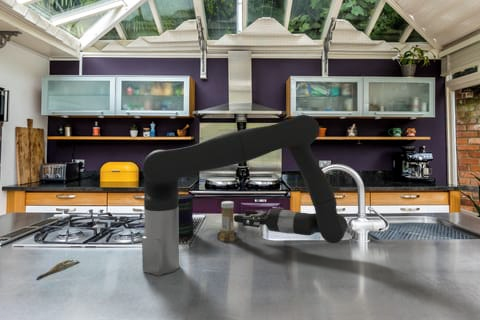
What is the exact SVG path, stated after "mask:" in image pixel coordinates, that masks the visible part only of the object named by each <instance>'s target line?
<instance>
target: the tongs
mask: <svg viewBox="0 0 480 320" xmlns="http://www.w3.org/2000/svg"><path fill="white" fill-rule="evenodd" d="M78 263H80V260H76V261H74V260H73V259H72V260H70V259H67V260H65V261H62V262H59V263H57V264H56V265H55V266H53V267H52V268H51V269H49V270H48V271H47V272H45V273H44V274H40V275H39V276H37V277H36V278H35V279H36V281H38V280H41V279H42V278H45V277H46V276H49V275H52V274H54V273H56V272H60V271H62V270H65V269H66V268H69V267H71V266H75V265H76V264H78Z"/></svg>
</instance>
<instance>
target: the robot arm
mask: <svg viewBox="0 0 480 320" xmlns="http://www.w3.org/2000/svg"><path fill="white" fill-rule="evenodd" d="M319 134H320V125H319V122H318V121H317V120H316V119H315V118H314V117H312V116H310V115H306V114H300V115H299V114H298V115H296V116H294V117H292V118H289V119H287V120H283V121H281V122H277V123H275V124H270V125H266V126H265V125H264V126H257V127H252V128H245V129H240V130H236V131H231V132H227V133H223V134H219V135H216V136H214V137H211V138H208V139H206V140H204V141H201V142H199V143H197V144H193V145H189V146H185V147H181V148H180V147H179V148H173V149H167V150H166V149H156V150H153V151H151V152H150V153H149V154H148V155H147V156H146V157H145V159H144V161H143V163H142V173H143V175H144V197H143V206H144V207H143V209H144V211H143V212H144V215H143V216H144V221H143V222H144V236H143V237H142V238H141V246H142V247H141V249H142V251H141V252H142V253H141V254H142V257H141V261H142V262H141V264H142V272H145V273H148V274H151V275H155V276H161V275H165V274H170V273H173V272H175V271H177V270H178V269H179V267H180V244H179V243H180V241H179V240H180V239H179V220H178V217H179V216H178V194H179V179H181V178H182V179H183V178H184V177H187V176H190V175H194V174H196V173H200V172H205V171H211V170H216V169H217V170H218V169H222V168H225V167H226V168H227V167H230V166H231V167H232V166H235V165H238V164H242V163H245V162H248V161H251V160H255V159H258V158H259V157H262V156H265V155H268V154H271V153H272V152H275V151H279V150H283V149H286V148H287V149H288V151H289V153H290V154H291V156H292V158H293V160H294V162H295V165H296V166H297V167H298V170H299V173H301V174H300V175H301V177H302V179H303V182H304V184H305V187H306V190H307V192H308V195H309V198H310V201H311V202H312V206H313V207H314V208H313V209H314V212H315V213H309V212H308V213H307V212H299V211H295V210H294V211H293V210H288V209H281V208H279V209H278V208H270V209H269V210H265V209H259V210H250V209H247V210H245V215H237V214H236V215H233V217H234V222H235V223H242V226H243V227H251V228H260V227H261V226H262V227H263V226H264V225H265V227H266V229H267V230H268V232H276V233H282V234H290V235H293V234H294V235H301V236H313V235H314V234H317V233H320V236H321V238H323V240H325V241H326V242H328V243H330V244H338V243H339V242H341V241H342V240H343V238H344V236H345V234H346V231H347V230H348V222H347V220H346V218H345V217H344V216H343V215H341V214H339V213H338V212H337V203H338V202H337V199H336V196H335V193H334V190H333V187H332V185H331V183H330V180H329V178H328V177H327V175H326V172H324V171H323V168H321V166H320V164H318V162H317V160H316V158H315V156H314V154H313V152H312V149H311V144H313V142H315V141H316V139H317V138H318V136H319Z"/></svg>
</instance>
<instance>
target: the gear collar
mask: <svg viewBox="0 0 480 320" xmlns="http://www.w3.org/2000/svg"><path fill="white" fill-rule="evenodd" d="M233 230H234V234H229V236H225V234H222V228H221V229H220V230H217V232H216V236H217V237H216V239H217V240H218V241H221V242H233V241H236V240H237V239H238V230H235V229H233Z"/></svg>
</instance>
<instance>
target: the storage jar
mask: <svg viewBox="0 0 480 320" xmlns="http://www.w3.org/2000/svg"><path fill="white" fill-rule="evenodd" d="M193 210H194V195H193V194H189V193H178V216H179V217H178V220H179V240H183V239H189V238H192V237H193V236H194V227H195V225H194V219H193V215H194V214H193Z"/></svg>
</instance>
